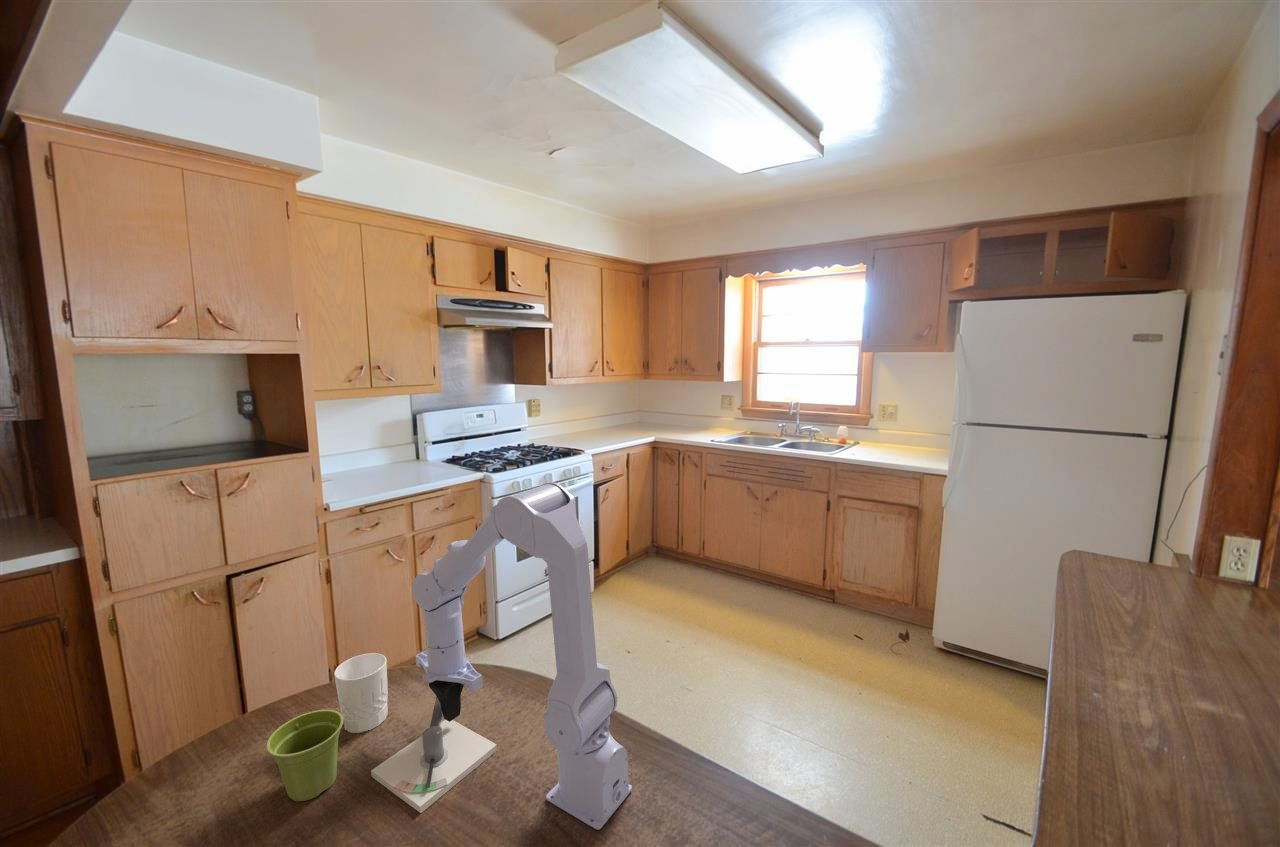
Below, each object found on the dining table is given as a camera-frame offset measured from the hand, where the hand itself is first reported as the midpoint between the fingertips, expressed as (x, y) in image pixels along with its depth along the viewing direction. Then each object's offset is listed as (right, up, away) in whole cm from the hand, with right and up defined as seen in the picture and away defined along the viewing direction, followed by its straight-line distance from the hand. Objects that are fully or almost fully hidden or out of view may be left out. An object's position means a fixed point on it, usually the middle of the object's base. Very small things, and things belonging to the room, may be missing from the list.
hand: (452, 717), depth 87 cm
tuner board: (0, -4, -7) cm, 7 cm away
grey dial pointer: (-1, -2, -5) cm, 6 cm away
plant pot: (-17, -5, -10) cm, 20 cm away
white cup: (-16, -3, +4) cm, 17 cm away
